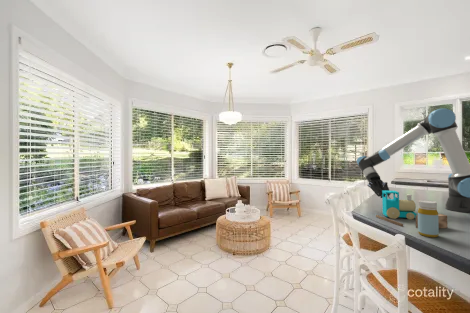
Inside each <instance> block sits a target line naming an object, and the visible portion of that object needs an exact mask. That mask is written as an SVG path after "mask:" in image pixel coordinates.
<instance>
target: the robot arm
mask: <svg viewBox="0 0 470 313" xmlns="http://www.w3.org/2000/svg"><path fill="white" fill-rule="evenodd" d="M456 120H457V119H456V113H455V112H454V111H453V110H451V109H449V108H445V107H444V108H438V109H435V110H433V111H431V112H430V113H428V114H427V116H426V117H424V118H423V119H422V120H421V121H419V122H418V123H417V124H416V126H414V127H413V128H411V129H410V130H409V131H407V132H406V133H403V134H402V135H401V136H399V137H397V138H396V139H395V140H393V141H392V142H389V143H388V144H386V145H385V146H383V147H382V148H381V149H379V150H377V151H375V152H374V153H373V154H371V155H368V156H367V155H361V156H359V157H357V158H356V163H357V165H358V168H359V169H360V171H361V172H362V173H363V175H364V177H365V178H366V180H367V182H368V183H367V185H366V186H367V187H368V188H370V189H371V190H372V192H373V193H374V194H375V195H376V196H377V197H380V199H382V190H386V191H391V190H390V188H389V185H388V182H387V181H386V182H385V181H383V180H382V179H381V176H380V174H379V173H378V171H377V170H376V169H375V167H376V166H378V165H380V164H382V163H384V162H387V161H388V160H389V159H391V156H393V155H395V154H397V153H398V152H400V151H401V150H403V149H404V148H406V147H407V146H409V145H411V144H412V143H414V142H415V141H417V140H419V139H421V138H422V137H424V136H427V135H430V134H432V135H434V136H436V137H437V139H438V142H439V145H440V146H441V148H442V151H443V153H444V156H445V158H446V161H447V162H448V165H449V167H450V170H451V173H448V178H447V180H448V185H447V186H448V197H447V200H446V203H445V205H444V208H445V209H446V210H448V211H453V212H458V213H459V212H461V213H470V161H469V159H468V156H467V154H466V152H465V150H464V148H463V145H462V142H461V140H460V138H459V136H458V133H457V129H458V125H457V123H456V122H457V121H456ZM391 194H392V193H387V199H392V198H391V197H390V196H391ZM384 197H386V194H384Z"/></svg>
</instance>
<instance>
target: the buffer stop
mask: <svg viewBox="0 0 470 313" xmlns="http://www.w3.org/2000/svg"><path fill="white" fill-rule="evenodd" d="M438 226H439V229H447V228H448V215H447V214H443V213H438ZM415 228H416V229H418V215H416V218H415Z"/></svg>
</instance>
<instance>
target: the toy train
mask: <svg viewBox="0 0 470 313" xmlns="http://www.w3.org/2000/svg"><path fill="white" fill-rule="evenodd" d="M387 193H391V194H392V196H393V198H391V199H387ZM384 194H386V197H384ZM396 195H397V196H396ZM412 196H413V195H412V194H410V193H409V194H406V199H400V192H399V191H396V190H390V191H386V190H382V198H381V199H382V200H381V202H382V208H381V210H382V215H383V216H385V218H387V217H388V219H389V218H390V219H391V220H393V219H395V220H396V219H399V218H407V220H415V219H416V215H417V214H418V213H417V214H416V212H415V211H416V203H415V200H413V199H412Z"/></svg>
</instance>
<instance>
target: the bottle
mask: <svg viewBox="0 0 470 313" xmlns="http://www.w3.org/2000/svg"><path fill="white" fill-rule="evenodd" d="M437 207H438V204H437V201H433V200H425V199H423V200H418V209H417V214H418V228H417V233H418V234H419V235H420V236H423V237H425V238H426V237H427V238H437V237H439V234H440V233H439V232H440V230H439V229H440V228H439V226H438V214H439V211H438V209H437Z"/></svg>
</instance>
